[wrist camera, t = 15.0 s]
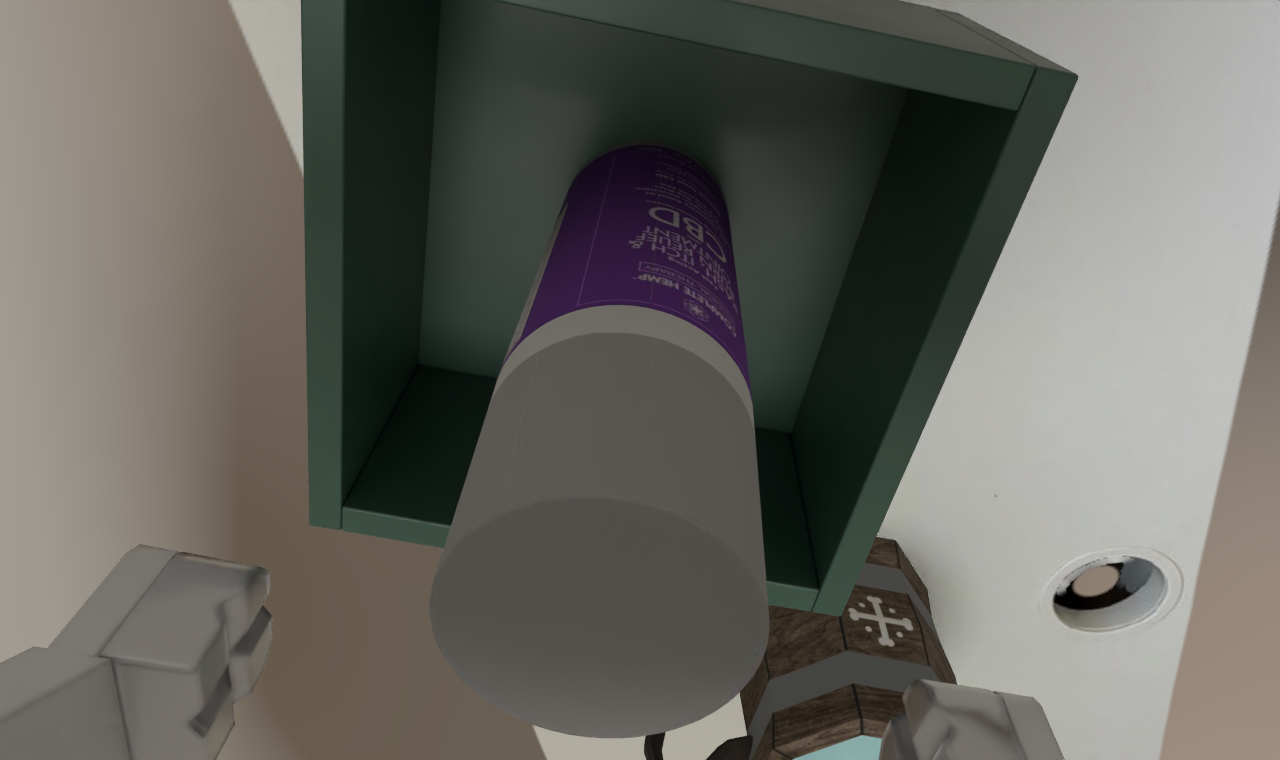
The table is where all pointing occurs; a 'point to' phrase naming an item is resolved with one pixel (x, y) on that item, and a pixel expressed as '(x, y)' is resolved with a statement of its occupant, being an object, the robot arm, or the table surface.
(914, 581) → the mug
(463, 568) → the container
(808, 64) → the green legged tray box
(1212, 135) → the table surface
